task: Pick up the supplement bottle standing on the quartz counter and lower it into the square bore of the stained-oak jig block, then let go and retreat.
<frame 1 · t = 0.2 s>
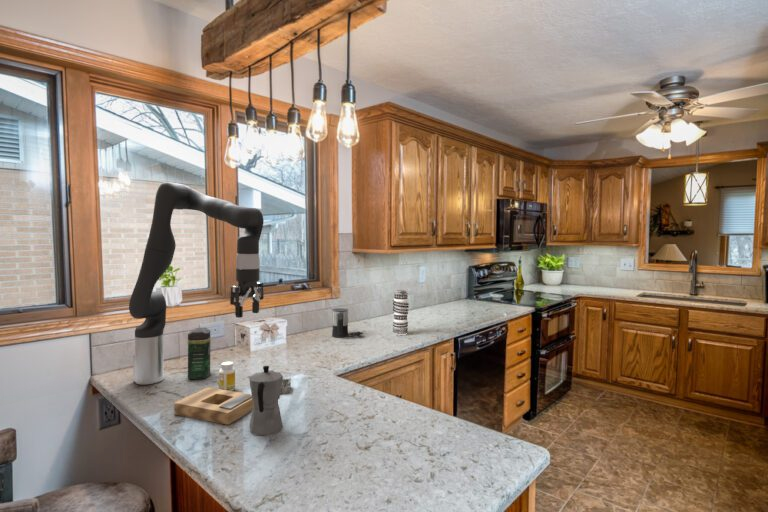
hand: (247, 315, 138), 28 cm above the counter, fingers open, 8 cm apart
jig: (217, 410, 128), on the counter
coffeepot: (265, 431, 115), on the counter
coffee jar: (199, 376, 159), on the counter
supplement bottle: (227, 390, 145), on the counter
milk frother: (347, 336, 227), on the counter
egg carton: (275, 391, 145), on the counter
decorative candle: (400, 334, 233), on the counter
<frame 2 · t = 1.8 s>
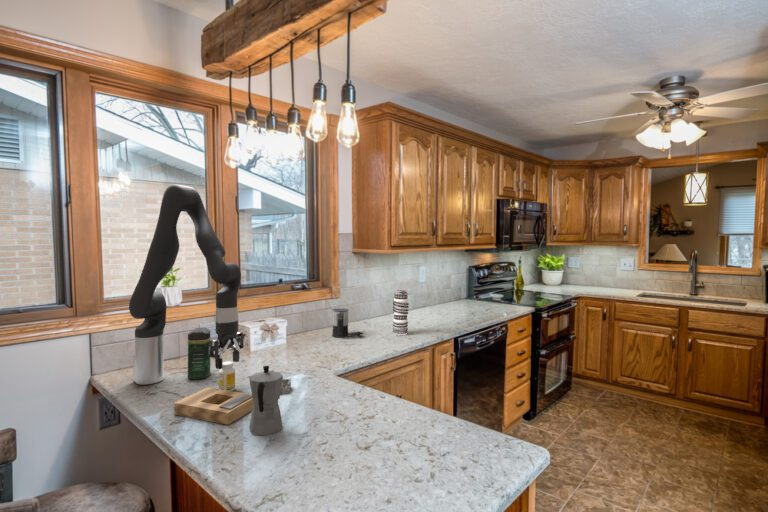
hand: (227, 365, 145), 9 cm above the counter, fingers open, 8 cm apart
nothing on the counter moved.
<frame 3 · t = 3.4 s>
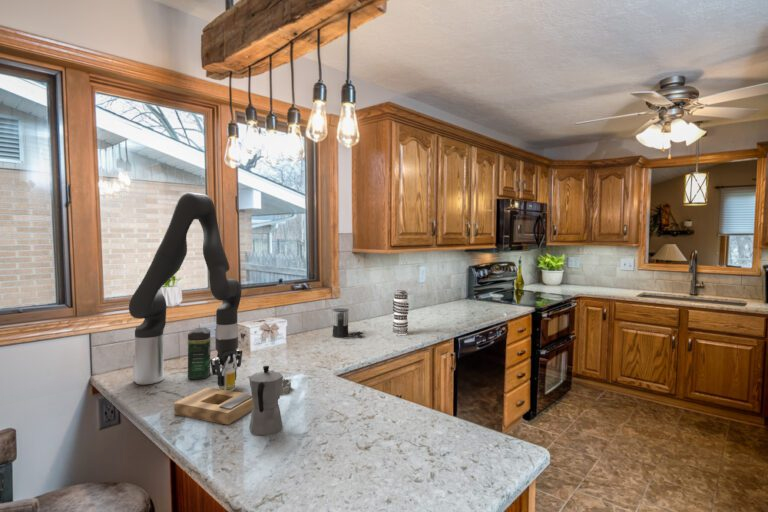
hand: (227, 382, 145), 2 cm above the counter, fingers closed on supplement bottle, 5 cm apart
supplement bottle: (227, 390, 145), on the counter, touching gripper
everything else where it was.
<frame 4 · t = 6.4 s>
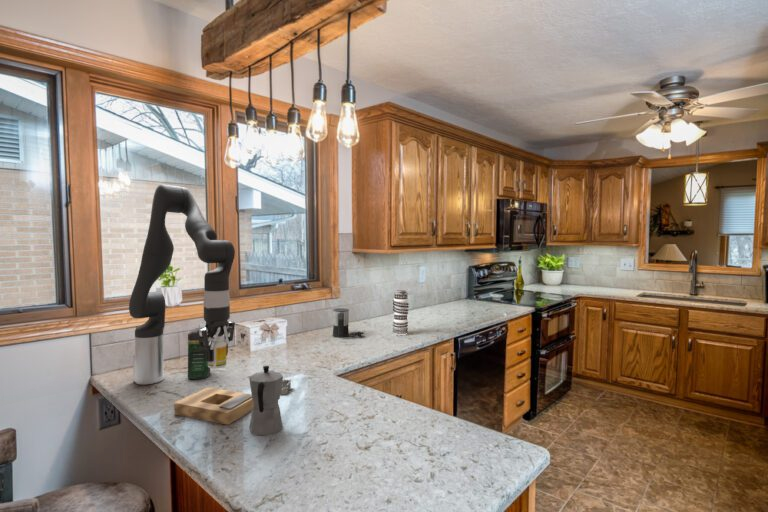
hand: (217, 358, 127), 16 cm above the counter, fingers closed on supplement bottle, 5 cm apart
supplement bottle: (217, 366, 127), point 14 cm above the counter, touching gripper
everything else where it was.
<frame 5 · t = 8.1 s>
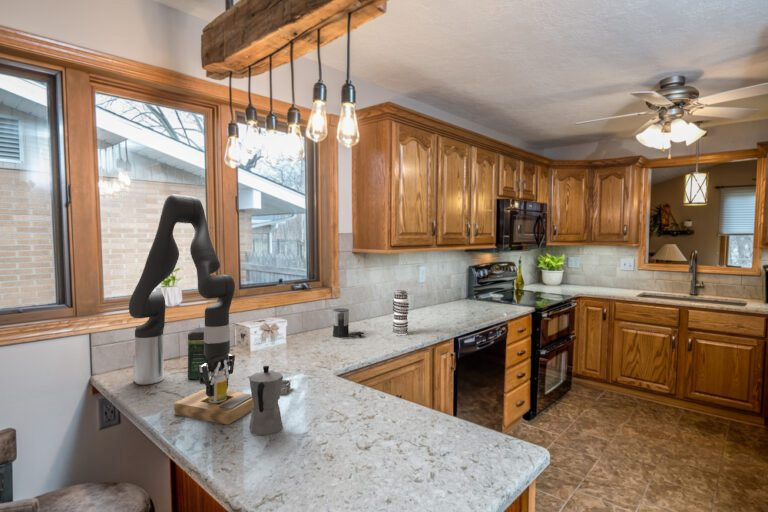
hand: (217, 392, 128), 6 cm above the counter, fingers closed on supplement bottle, 5 cm apart
supplement bottle: (217, 400, 128), point 3 cm above the counter, touching gripper
everything else where it was.
when the fingers open (4 cm above the counter, at t = 9.3 s): supplement bottle drops 2 cm, resting in jig.
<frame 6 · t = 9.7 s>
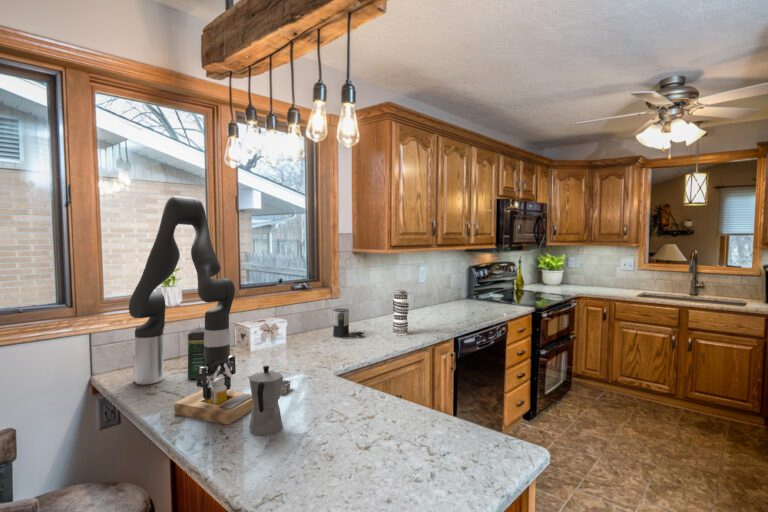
hand: (217, 394, 128), 5 cm above the counter, fingers open, 8 cm apart
supplement bottle: (217, 410, 128), resting in jig
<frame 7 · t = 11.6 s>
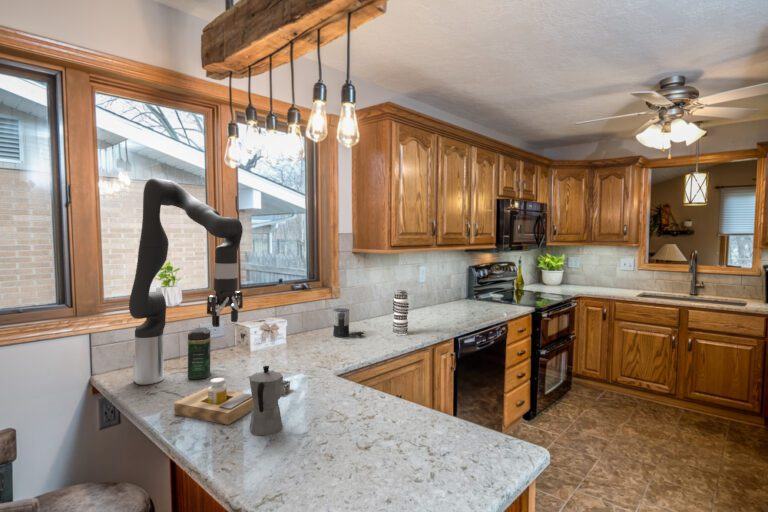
hand: (225, 324, 138), 25 cm above the counter, fingers open, 8 cm apart
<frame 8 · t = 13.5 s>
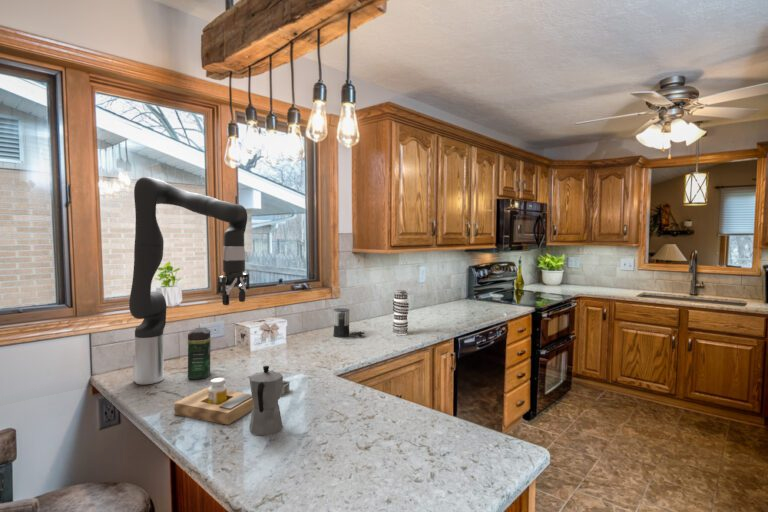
hand: (234, 303, 149), 30 cm above the counter, fingers open, 8 cm apart
at the end: supplement bottle 0.1 cm off-centre on the jig, point 0.0 cm above the jig's base; supplement bottle tilted 0°; the gripper is holding nothing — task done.
